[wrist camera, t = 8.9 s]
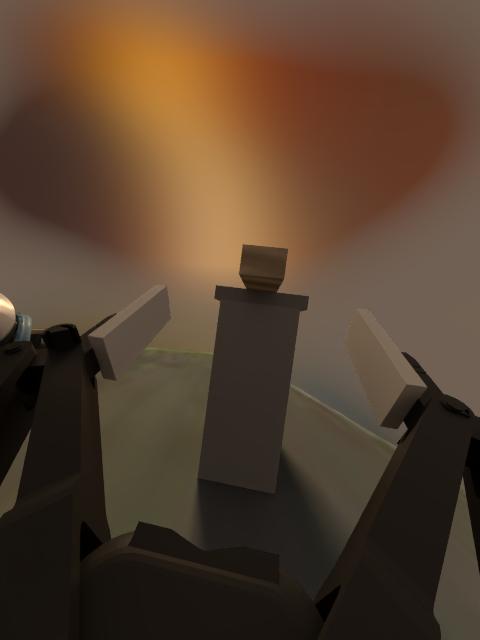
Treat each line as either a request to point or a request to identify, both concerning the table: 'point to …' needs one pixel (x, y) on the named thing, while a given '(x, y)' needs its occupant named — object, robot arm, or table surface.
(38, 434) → the robot arm
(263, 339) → the grey stand
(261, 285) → the birch strip
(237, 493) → the table surface
